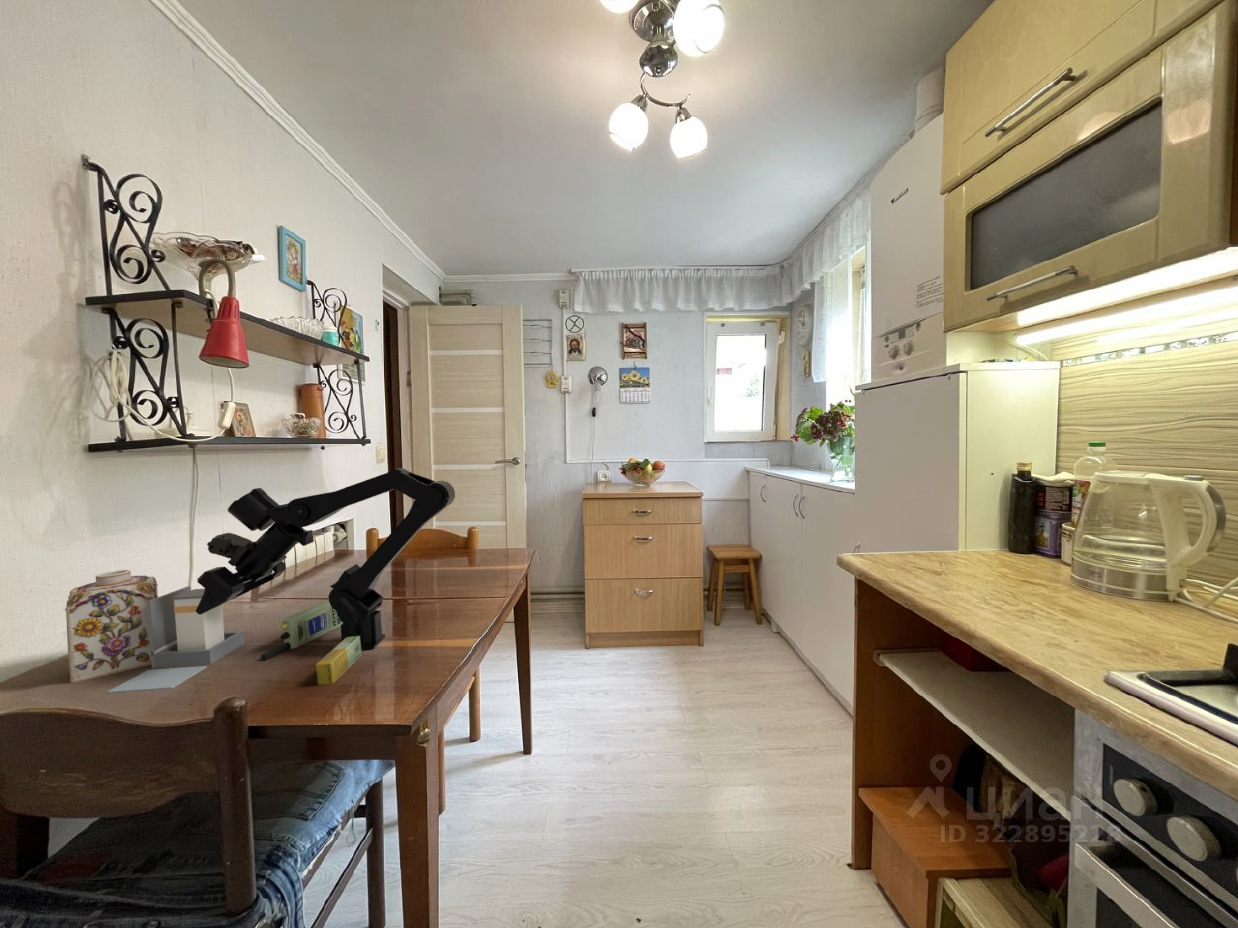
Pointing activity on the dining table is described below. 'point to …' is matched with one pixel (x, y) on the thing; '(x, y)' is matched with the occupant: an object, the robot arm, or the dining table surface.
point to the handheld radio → (306, 627)
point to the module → (196, 622)
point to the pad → (158, 679)
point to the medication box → (338, 660)
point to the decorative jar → (109, 625)
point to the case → (166, 637)
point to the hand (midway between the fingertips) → (215, 604)
